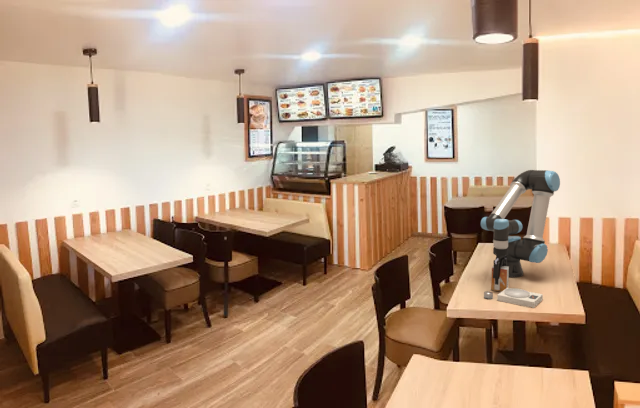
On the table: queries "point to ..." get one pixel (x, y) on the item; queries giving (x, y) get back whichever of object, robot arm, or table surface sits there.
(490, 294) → the spacer
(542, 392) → the table surface
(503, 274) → the small box
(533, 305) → the scale
